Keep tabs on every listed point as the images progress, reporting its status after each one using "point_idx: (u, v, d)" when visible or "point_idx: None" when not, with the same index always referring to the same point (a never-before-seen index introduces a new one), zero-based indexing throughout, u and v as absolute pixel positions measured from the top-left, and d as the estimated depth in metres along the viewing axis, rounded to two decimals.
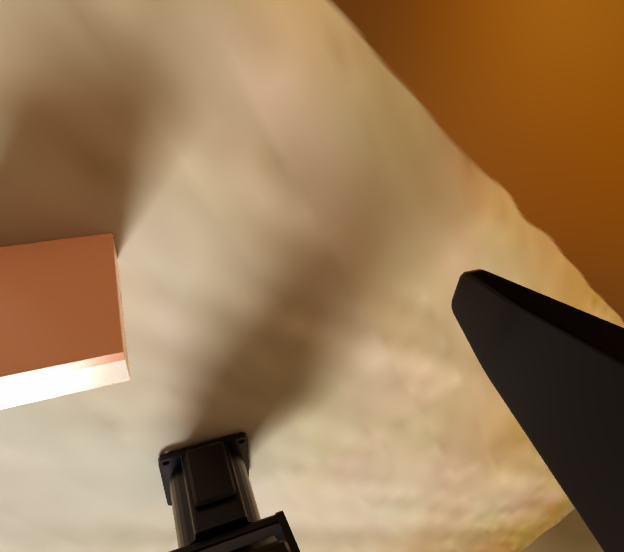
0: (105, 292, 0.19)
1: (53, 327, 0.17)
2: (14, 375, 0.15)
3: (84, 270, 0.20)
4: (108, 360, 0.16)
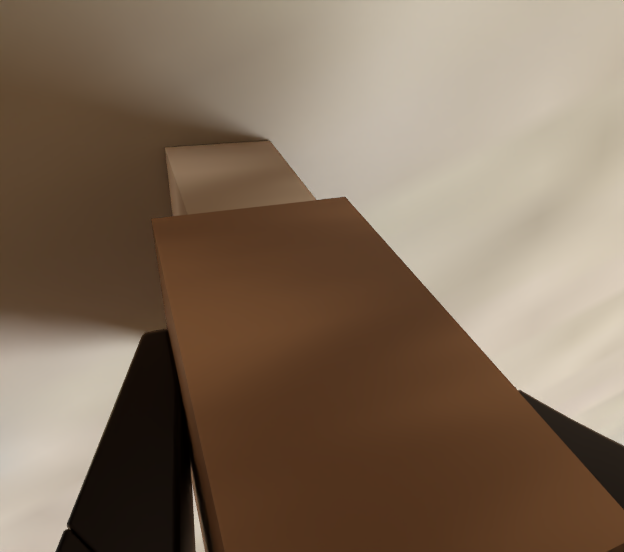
0: None
1: None
2: None
3: None
4: None
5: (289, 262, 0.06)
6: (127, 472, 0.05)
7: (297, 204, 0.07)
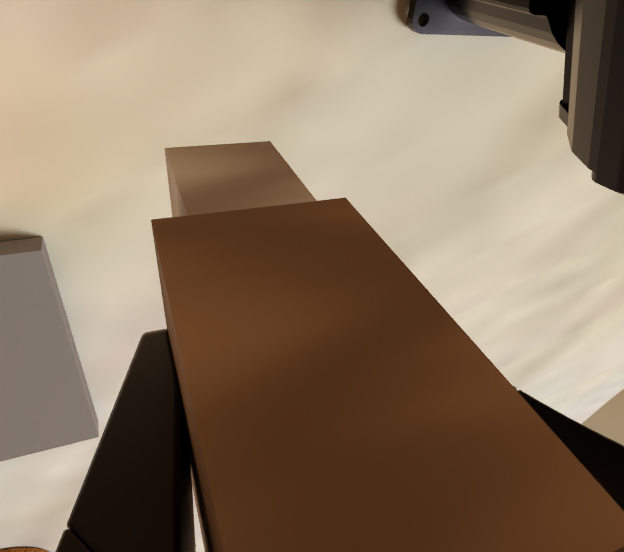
0: None
1: None
2: None
3: None
4: None
5: (289, 263, 0.06)
6: (127, 472, 0.05)
7: (297, 205, 0.07)
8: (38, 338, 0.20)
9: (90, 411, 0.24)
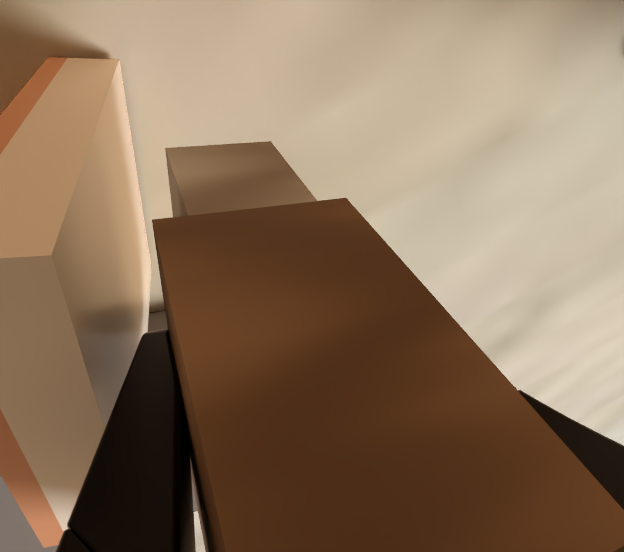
0: None
1: None
2: None
3: None
4: None
5: (290, 263, 0.06)
6: (127, 472, 0.05)
7: (298, 205, 0.07)
8: None
9: None
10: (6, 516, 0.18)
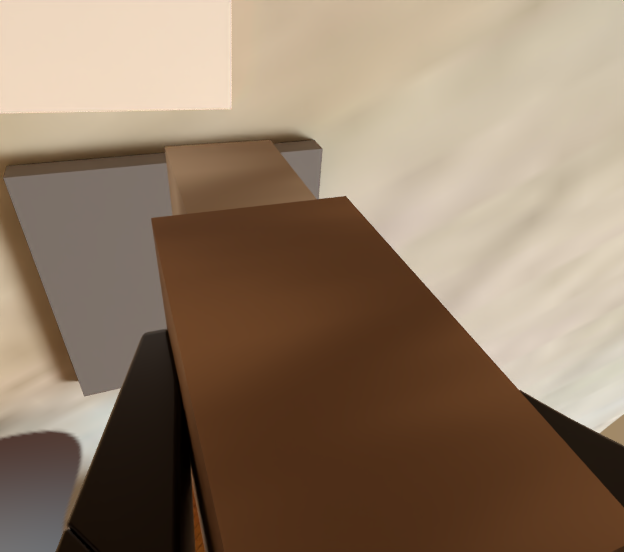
0: None
1: None
2: None
3: None
4: None
5: (289, 261, 0.06)
6: (127, 472, 0.05)
7: (297, 203, 0.07)
8: None
9: None
10: (138, 324, 0.22)
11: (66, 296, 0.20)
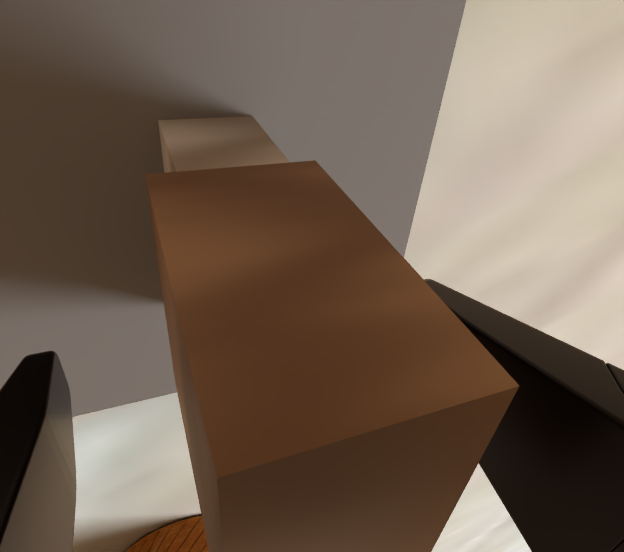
0: None
1: None
2: None
3: None
4: None
5: (260, 207, 0.07)
6: None
7: (272, 165, 0.08)
8: (396, 142, 0.12)
9: None
10: (101, 301, 0.12)
11: None
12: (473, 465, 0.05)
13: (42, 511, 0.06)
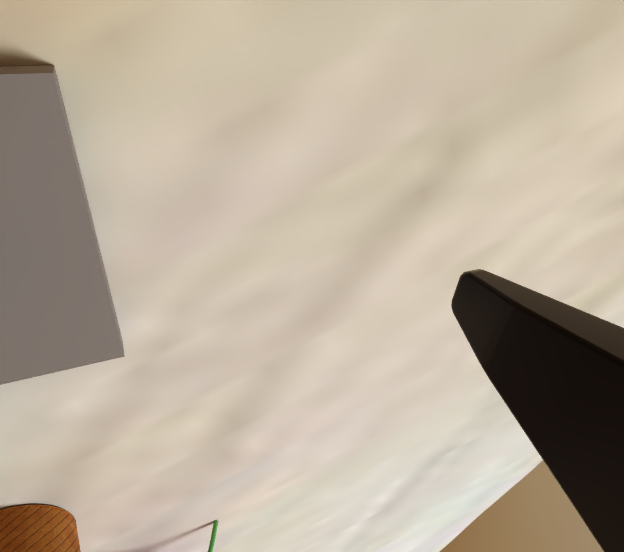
0: None
1: None
2: None
3: None
4: None
5: None
6: None
7: None
8: (51, 208, 0.16)
9: (114, 320, 0.20)
10: None
11: None
12: None
13: None
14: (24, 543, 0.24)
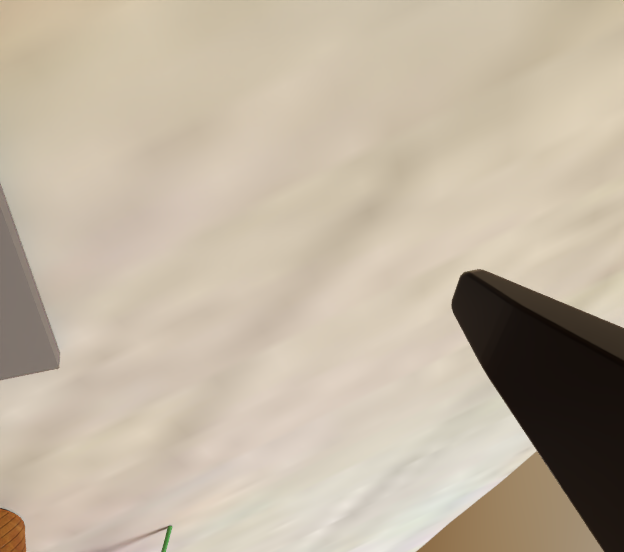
0: None
1: None
2: None
3: None
4: None
5: None
6: None
7: None
8: None
9: (46, 334, 0.20)
10: None
11: None
12: None
13: None
14: None
